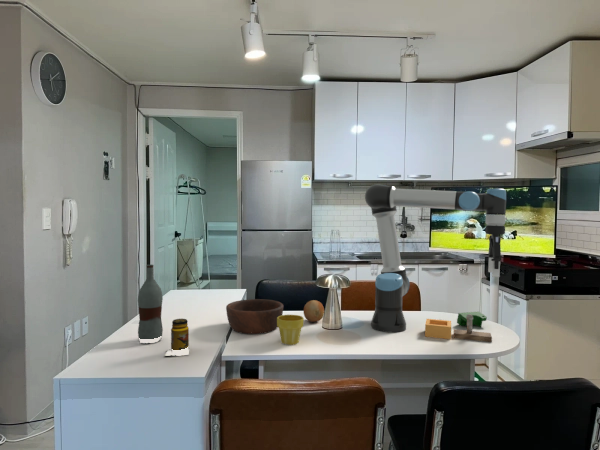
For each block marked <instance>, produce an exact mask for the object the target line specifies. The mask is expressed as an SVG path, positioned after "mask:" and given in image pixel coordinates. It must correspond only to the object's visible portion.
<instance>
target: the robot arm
mask: <svg viewBox="0 0 600 450" xmlns="http://www.w3.org/2000/svg"><path fill="white" fill-rule="evenodd" d="M364 202H365V204H367V205H368V207H370V209H371V214H372V216H373V217H374V218H375V220H376V226H377V227H376V228H377V234H378V240H379V248H380V253H381V255H380V256H381V262H382V269H381V270H380V273H379V274H378V275H377V276H376V278H375V281H374V283H375V284H374V285H375V301H374V302H375V303H374V305H375V309H374V312H373V315H372V319H371V321H370V322H371V325H370V327H371V328H372V329H373V330H376V331H380V332H385V333H386V332H387V333H397V332H403V331H405V330H407V322H406V320H405V316H404V313H403V297H404V296H405V295H406V294H407V293H408V292H409V289H410V280H409V277H408V276H407V272H406V271H407V270H406V268H405V266H403V264H402V259H401V254H400V246H399V239H398V233H397V232H398V231H397V225H396V219H395V215H396V213H397V212H398V211H397V207H405V208H406V207H408V208H409V207H410V208H422V209H423V208H425V209H427V208H428V209H441V210H442V209H443V210H456V211H463V212H466V211H470V212H471V211H472V212H474V211H475V212H477V211H478V212H482V211H483V212H484V211H485V224H486V225H485V234H486V235H489V238H488V239H489V245H488V254H487V255H488V266H487V267H488V269H487V270H488V271H487V272H488V273H491V276H492V277H493V278H500V277H501V275H500V274H501V272H500V271H501V270H500V269H501V260H502V252H501V237H500V235H505V234H506V226H505V224H506V220H507V219H508V218H507V217H506V212H507V211H506V210H507V190H506V189H504V188H488V189H487V190H486V193H485V192H484V193H477V192H475V191H472V190H471V191H470V190H468V191H467V190H466V191H455V190H437V189H436V190H435V189H434V190H433V189H412V188H411V189H410V188H409V189H408V188H396V187H395V186H393V185H386V184H382V183H376V184H375V183H374V184H372V185H370V186H369V187H368V188H367V189H366V191H365V195H364Z"/></svg>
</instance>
